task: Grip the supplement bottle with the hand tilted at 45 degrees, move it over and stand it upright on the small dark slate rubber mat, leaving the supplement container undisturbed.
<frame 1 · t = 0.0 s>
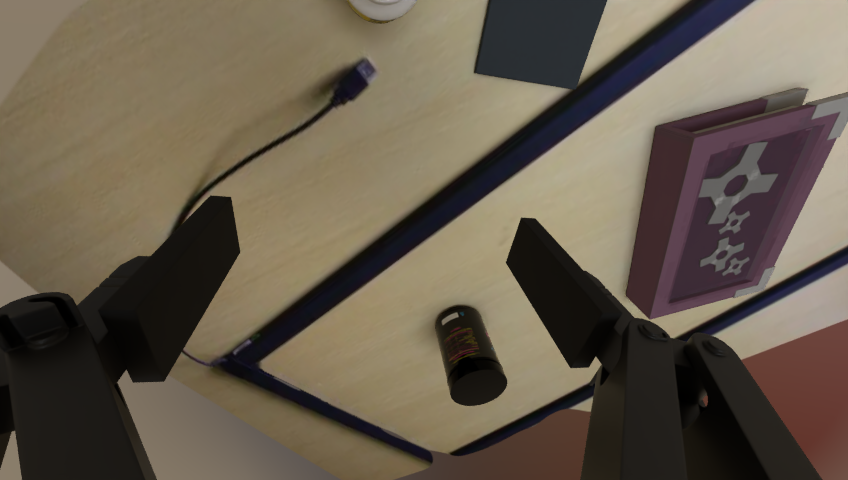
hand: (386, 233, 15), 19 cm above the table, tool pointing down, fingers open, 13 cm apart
supplement container: (457, 320, 46), on the table
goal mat: (542, 16, 28), on the table
book: (697, 207, 42), on the table
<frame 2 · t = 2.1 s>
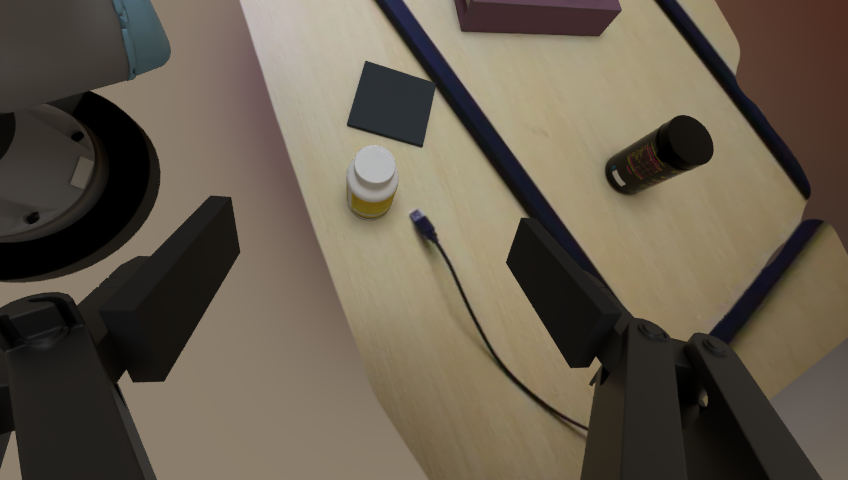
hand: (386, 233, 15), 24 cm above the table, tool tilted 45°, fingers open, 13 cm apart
supplement bottle: (369, 200, 40), on the table
supplement container: (622, 175, 50), on the table
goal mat: (393, 105, 44), on the table
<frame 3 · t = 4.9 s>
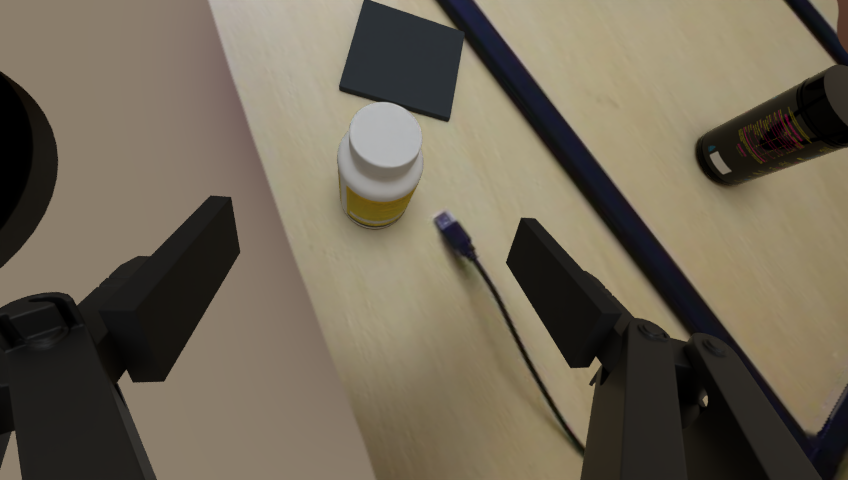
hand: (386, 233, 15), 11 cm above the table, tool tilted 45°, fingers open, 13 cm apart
supplement bottle: (374, 199, 27), on the table
supplement container: (716, 160, 36), on the table
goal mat: (405, 61, 30), on the table
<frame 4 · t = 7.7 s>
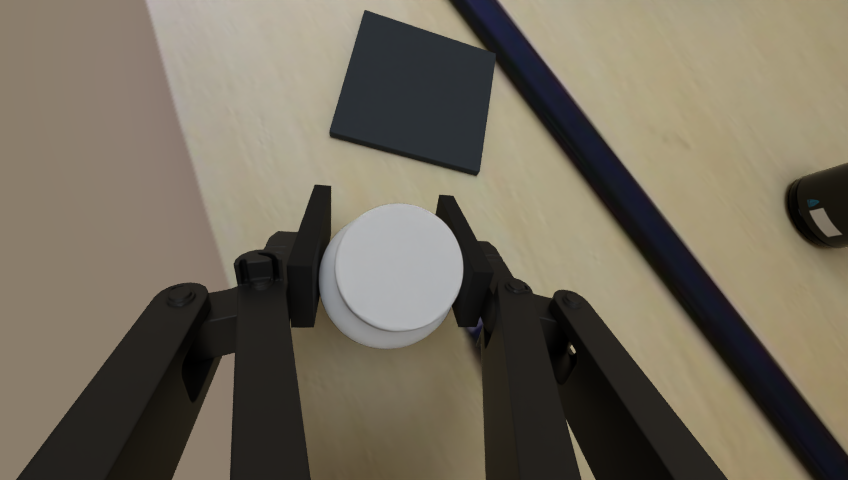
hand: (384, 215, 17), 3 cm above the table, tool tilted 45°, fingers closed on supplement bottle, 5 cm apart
supplement bottle: (377, 291, 19), on the table, touching gripper
supplement container: (810, 213, 29), on the table
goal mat: (419, 94, 23), on the table
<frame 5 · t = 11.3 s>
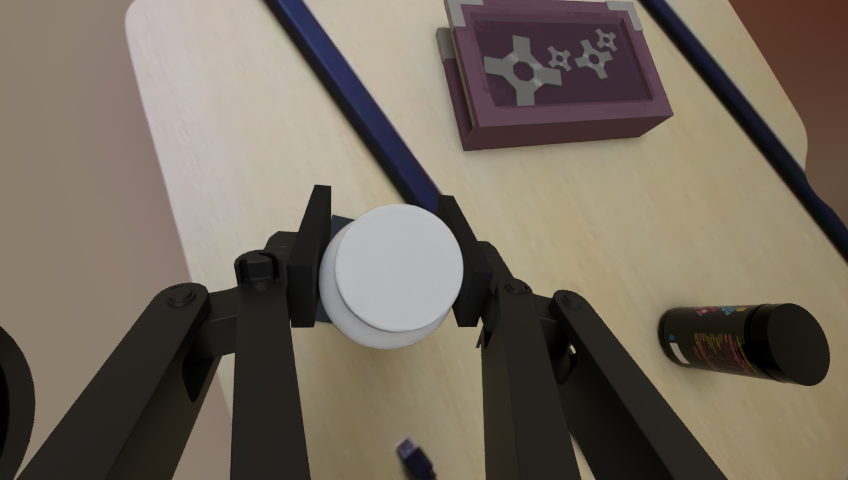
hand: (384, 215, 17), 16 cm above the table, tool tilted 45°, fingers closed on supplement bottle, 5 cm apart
supplement bottle: (377, 292, 19), point 12 cm above the table, touching gripper
supplement container: (679, 336, 38), on the table
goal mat: (372, 275, 32), on the table
book: (540, 87, 42), on the table
when the fingers open (4 cm above the table, at t = 15.0 s): supplement bottle stays where it is, resting on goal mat.
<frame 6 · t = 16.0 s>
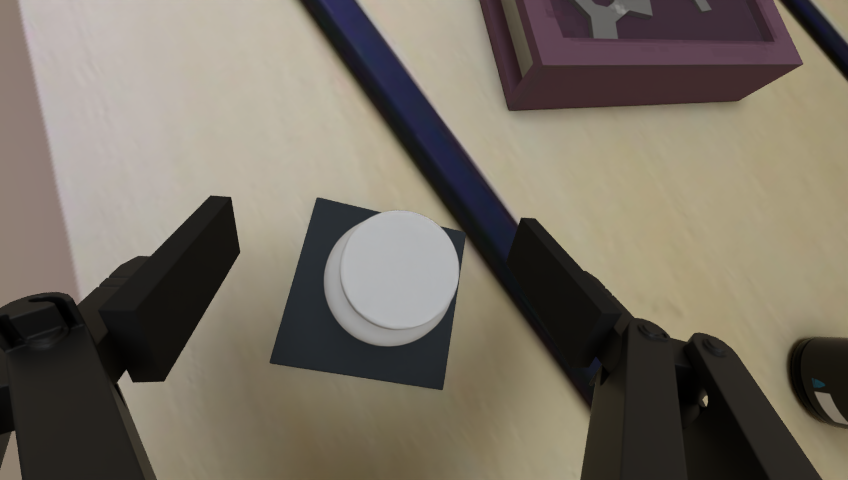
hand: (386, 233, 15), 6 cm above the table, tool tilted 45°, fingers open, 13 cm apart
supplement bottle: (378, 292, 20), resting on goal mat
supplement container: (815, 378, 26), on the table
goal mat: (377, 291, 20), on the table
book: (607, 31, 31), on the table
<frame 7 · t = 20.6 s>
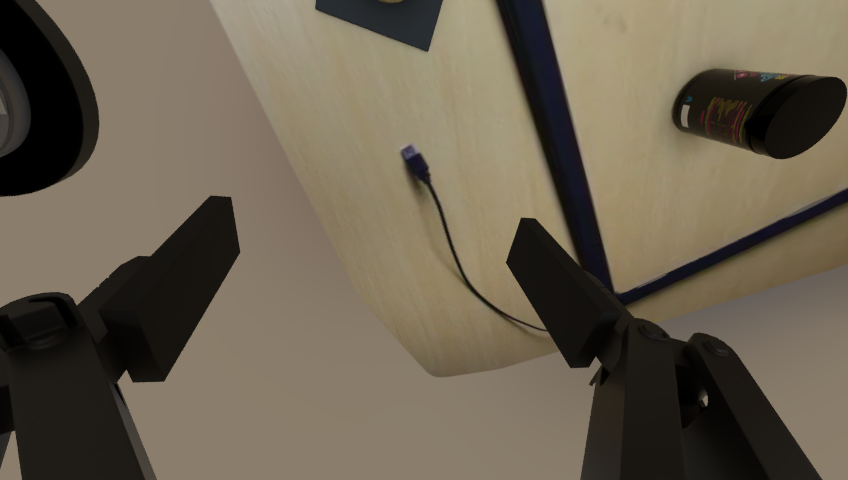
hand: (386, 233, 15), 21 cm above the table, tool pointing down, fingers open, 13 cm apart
supplement container: (698, 101, 37), on the table
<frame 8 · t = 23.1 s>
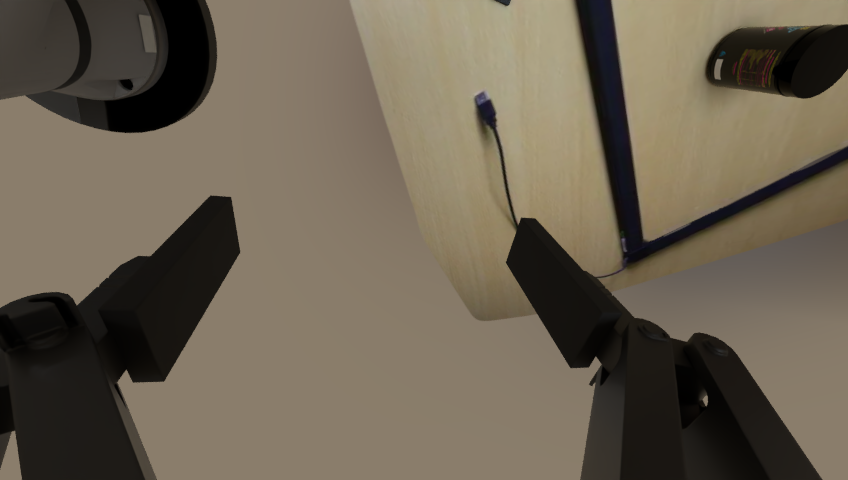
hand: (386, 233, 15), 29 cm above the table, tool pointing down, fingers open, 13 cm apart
supplement container: (728, 57, 42), on the table
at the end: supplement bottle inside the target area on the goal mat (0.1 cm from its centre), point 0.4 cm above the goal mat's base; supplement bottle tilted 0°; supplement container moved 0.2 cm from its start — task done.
